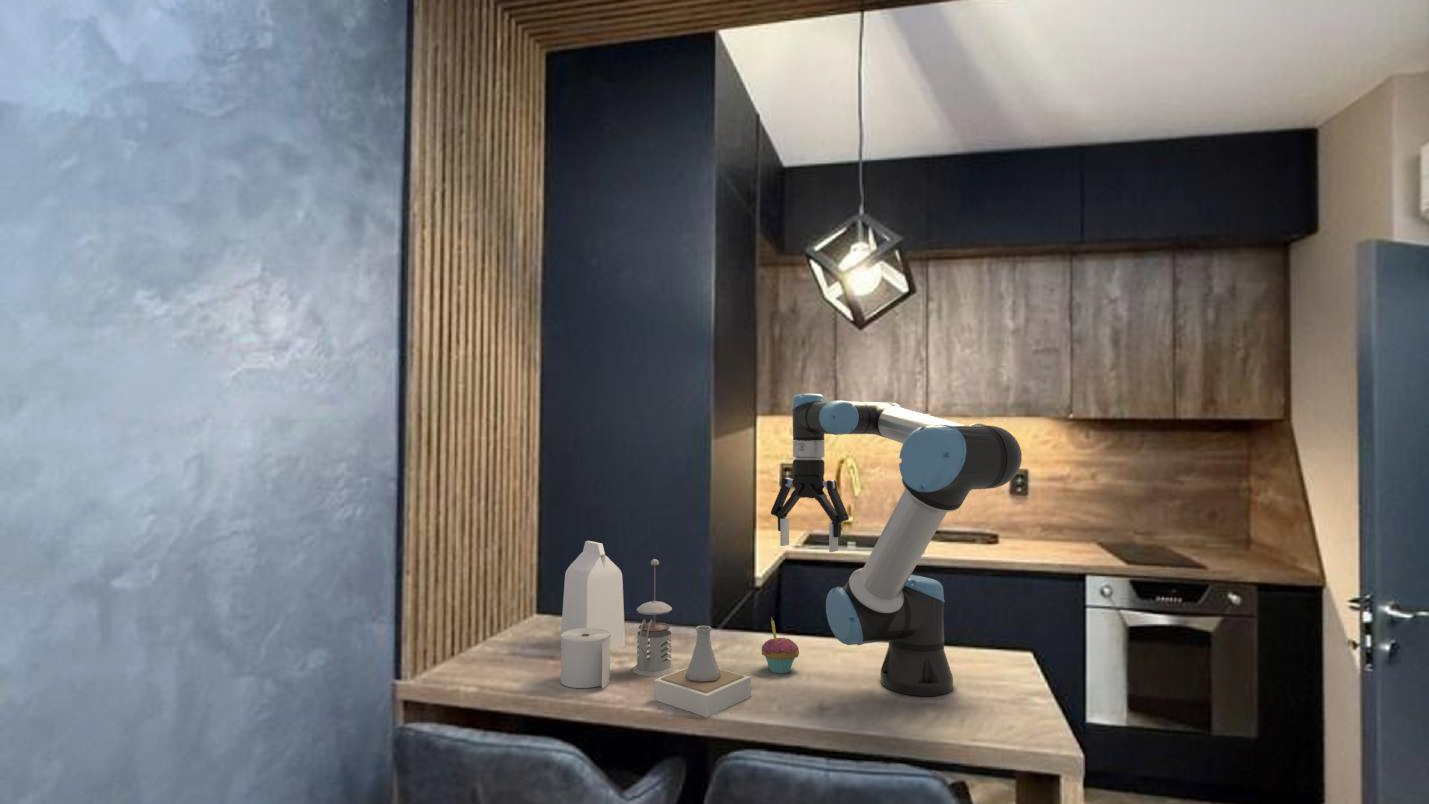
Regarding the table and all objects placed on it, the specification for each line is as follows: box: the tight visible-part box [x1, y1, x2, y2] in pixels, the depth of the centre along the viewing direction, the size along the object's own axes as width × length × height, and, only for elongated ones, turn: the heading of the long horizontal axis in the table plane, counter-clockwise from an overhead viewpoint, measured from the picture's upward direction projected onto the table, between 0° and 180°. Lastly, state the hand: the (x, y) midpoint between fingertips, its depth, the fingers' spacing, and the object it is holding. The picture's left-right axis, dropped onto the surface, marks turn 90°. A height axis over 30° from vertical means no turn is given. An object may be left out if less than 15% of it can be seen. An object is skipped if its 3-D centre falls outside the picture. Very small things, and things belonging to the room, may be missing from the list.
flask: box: [686, 625, 721, 682], centre depth 151 cm, size 7×7×10 cm
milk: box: [560, 540, 626, 651], centre depth 187 cm, size 12×12×26 cm
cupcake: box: [761, 617, 800, 674], centre depth 168 cm, size 9×8×12 cm
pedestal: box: [653, 666, 752, 718], centre depth 150 cm, size 14×14×4 cm
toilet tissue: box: [560, 628, 611, 690], centre depth 161 cm, size 11×12×10 cm
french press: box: [632, 558, 676, 677], centre depth 168 cm, size 10×12×25 cm
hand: (808, 548), depth 175 cm, fingers open, 13 cm apart
